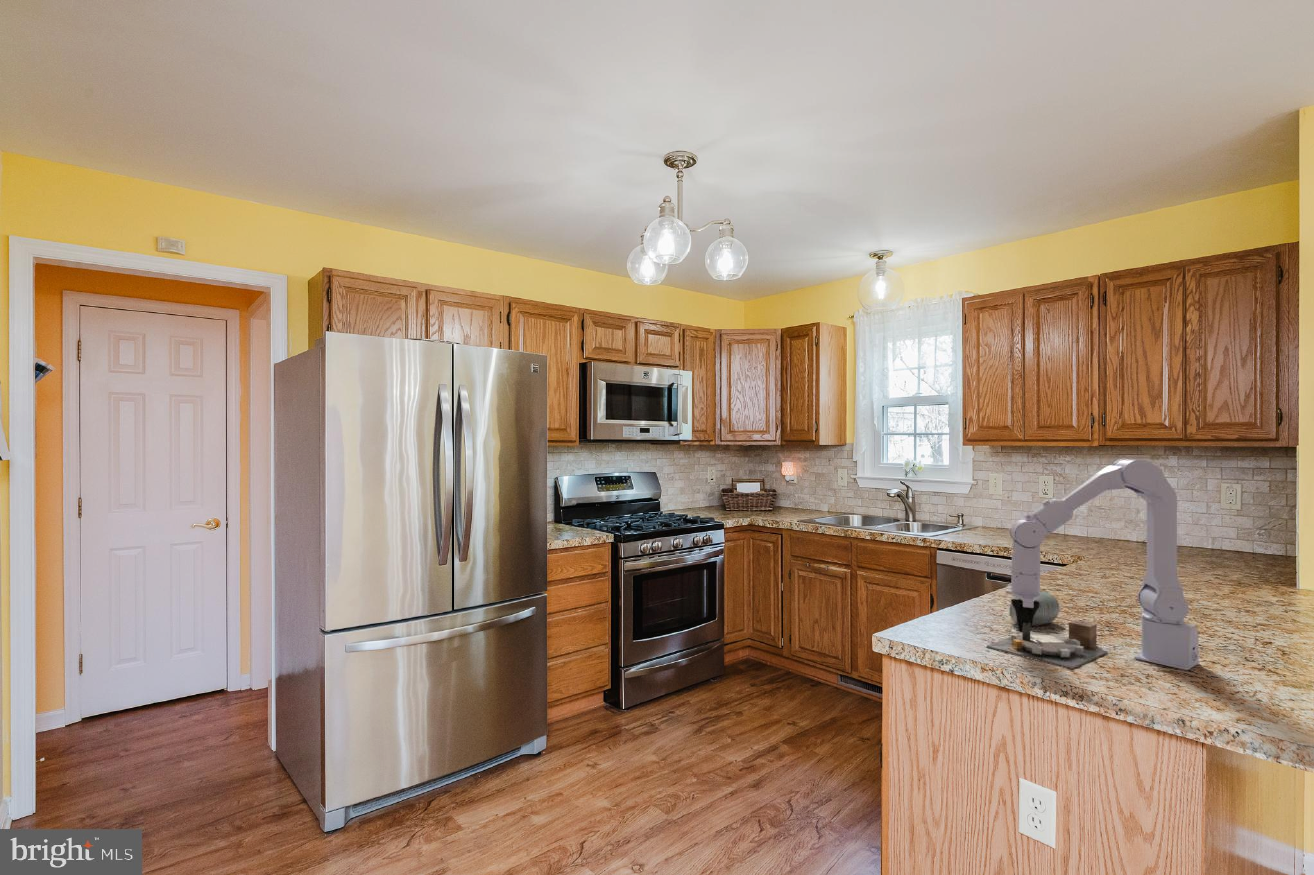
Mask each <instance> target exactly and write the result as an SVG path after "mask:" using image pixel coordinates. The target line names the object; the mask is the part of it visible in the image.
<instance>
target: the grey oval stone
mask: <svg viewBox="0 0 1314 875" xmlns="http://www.w3.org/2000/svg"><path fill="white" fill-rule="evenodd" d="M1040 594H1041V597H1040V598H1038V599H1037V600H1036V601H1038V602H1039V605H1040V606H1039V608H1038V609H1037V611H1036V613H1035V615H1034V617H1033V622H1032V627H1034V626H1035V627H1036V626H1042V625H1046V624H1049V623H1051V622H1053V621H1055V620H1056V619H1057V618H1058V616H1059V613H1060V603H1059V601H1058V599H1057V598H1056V597H1055V595H1053V594H1051V593H1049V592H1045V591H1040ZM1012 599H1018V600H1019V598H1017V597H1015V596H1013V598H1012ZM1009 616H1010V618H1011V620H1012V622H1014V623H1015V624H1017V616H1016V612H1015V608H1014V606H1013V604H1012V602H1011V601H1010V604H1009Z"/></svg>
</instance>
